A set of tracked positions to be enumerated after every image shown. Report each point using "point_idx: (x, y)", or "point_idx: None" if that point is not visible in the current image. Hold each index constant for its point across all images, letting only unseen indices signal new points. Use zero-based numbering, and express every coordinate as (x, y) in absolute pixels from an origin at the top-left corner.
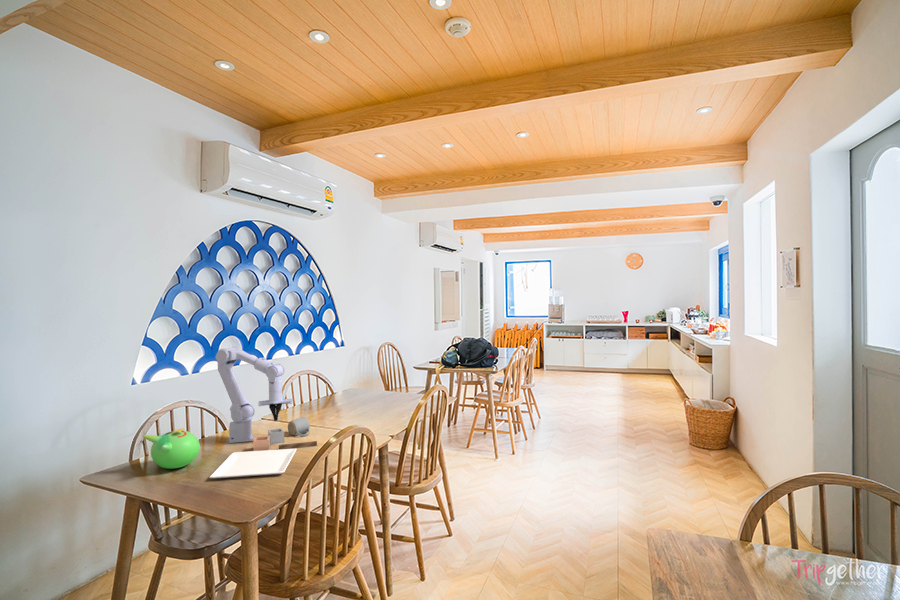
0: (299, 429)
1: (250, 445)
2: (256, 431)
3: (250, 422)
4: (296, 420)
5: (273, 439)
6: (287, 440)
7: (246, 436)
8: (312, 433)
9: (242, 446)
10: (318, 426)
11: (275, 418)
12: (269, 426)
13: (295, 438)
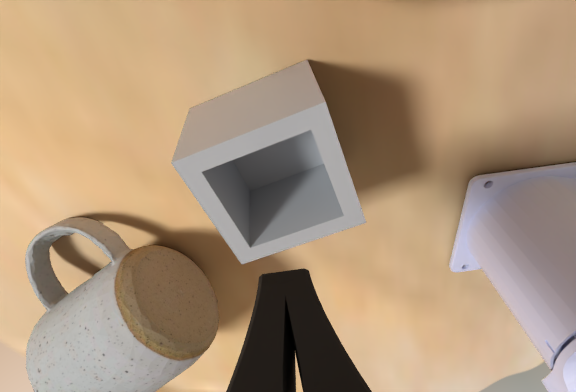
0: (96, 277)
1: (484, 74)
2: (427, 332)
3: (560, 321)
4: (117, 367)
5: (283, 86)
6: None
7: (525, 204)
8: None
9: (553, 59)
10: None
11: (288, 299)
12: None
13: (124, 190)
